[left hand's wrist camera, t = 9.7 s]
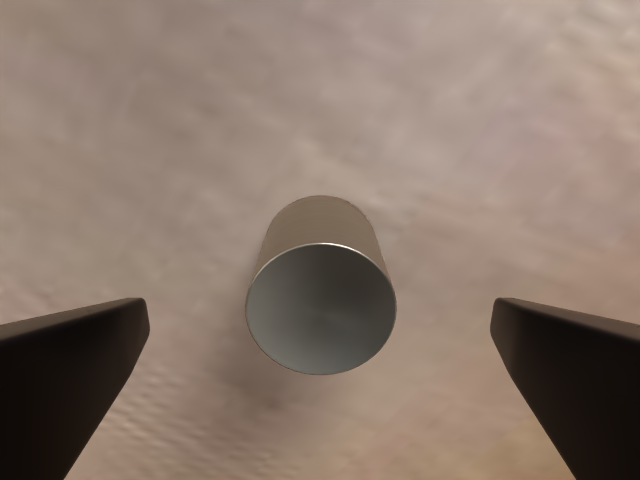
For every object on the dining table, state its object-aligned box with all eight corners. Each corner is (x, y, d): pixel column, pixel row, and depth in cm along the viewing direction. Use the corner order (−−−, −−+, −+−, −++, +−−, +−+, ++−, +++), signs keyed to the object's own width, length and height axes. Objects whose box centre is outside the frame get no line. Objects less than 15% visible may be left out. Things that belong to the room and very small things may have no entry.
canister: (276, 183, 15) (259, 228, 11) (390, 208, 15) (416, 261, 11) (255, 286, 16) (233, 361, 12) (360, 307, 16) (374, 387, 12)
